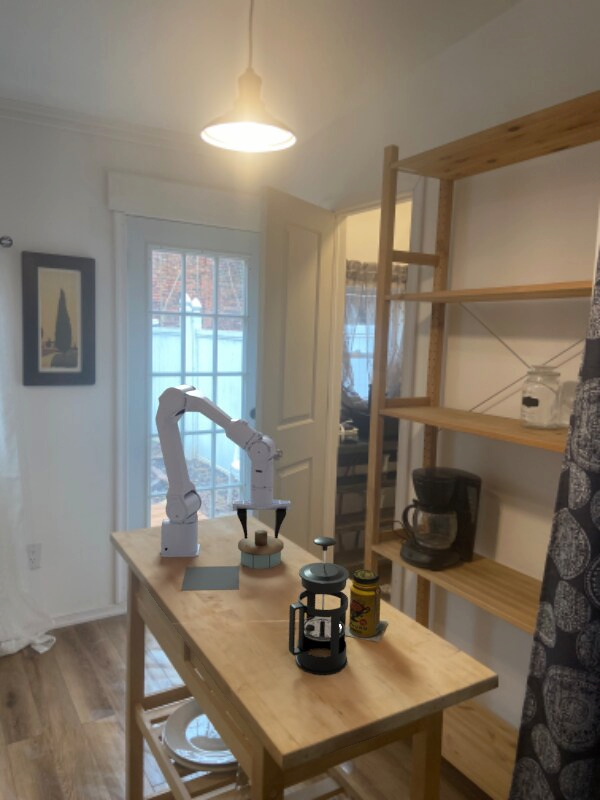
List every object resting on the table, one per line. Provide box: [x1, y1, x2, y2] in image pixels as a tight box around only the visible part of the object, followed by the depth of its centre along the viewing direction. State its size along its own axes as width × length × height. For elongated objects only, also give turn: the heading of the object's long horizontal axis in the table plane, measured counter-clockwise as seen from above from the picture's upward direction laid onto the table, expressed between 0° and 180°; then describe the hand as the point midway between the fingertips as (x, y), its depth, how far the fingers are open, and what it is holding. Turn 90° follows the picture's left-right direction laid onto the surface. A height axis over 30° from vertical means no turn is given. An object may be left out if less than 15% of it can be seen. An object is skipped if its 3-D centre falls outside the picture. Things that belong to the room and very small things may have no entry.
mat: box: [180, 565, 240, 592], centre depth 142 cm, size 13×13×1 cm
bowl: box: [240, 550, 282, 569], centre depth 153 cm, size 10×10×4 cm
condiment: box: [345, 569, 389, 643], centre depth 120 cm, size 7×8×12 cm
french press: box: [288, 536, 350, 676], centre depth 107 cm, size 12×9×23 cm
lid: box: [237, 529, 285, 555], centre depth 152 cm, size 12×12×4 cm
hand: (261, 537), depth 152 cm, fingers open, 7 cm apart
